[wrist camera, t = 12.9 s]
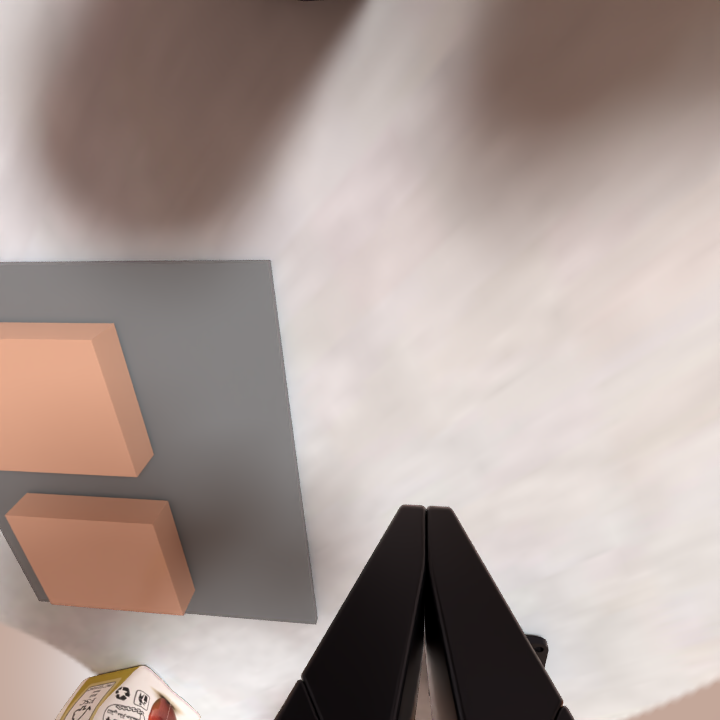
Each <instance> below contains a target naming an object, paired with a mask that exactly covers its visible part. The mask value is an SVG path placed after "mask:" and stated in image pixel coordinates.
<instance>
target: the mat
mask: <svg viewBox="0 0 720 720" xmlns="http://www.w3.org/2000/svg"><path fill="white" fill-rule="evenodd" d="M0 322H21V323H114V325H115V329H116V332H117V335H118V338H119V342H120V345H121V348H122V352H123V355H124V358H125V361H126V365H127V368H128V371H129V375H130V378H131V381H132V384H133V388H134V391H135V394H136V398H137V401H138V404H139V407H140V411H141V414H142V417H143V421H144V424H145V427H146V430H147V434H148V437H149V440H150V444H151V447H152V450H153V453H154V455H153V457H152V458H151V459H150V461H149V462H148V463H147V465H146V466H145V467H144V469H143V470H142V471H141V473H140V474H139V475H138V477H123V476H103V475H83V474H63V473H43V472H23V471H3V470H0V529H1V531H2V533H3V535H4V537H5V538H6V540H7V542H8V544H9V546H10V548H11V550H12V551H13V553H14V555H15V557H16V559H17V561H18V563H19V564H20V566H21V568H22V570H23V572H24V574H25V575H26V577H27V579H28V581H29V583H30V585H31V587H32V588H33V590H34V592H35V594H36V596H37V598H38V600H39V601H45V602H50V601H49V599H48V597H47V595H46V593H45V591H44V589H43V587H42V585H41V583H40V581H39V580H38V578H37V576H36V574H35V572H34V570H33V568H32V566H31V564H30V562H29V560H28V559H27V557H26V555H25V553H24V551H23V549H22V547H21V545H20V543H19V541H18V540H17V538H16V536H15V534H14V532H13V530H12V528H11V526H10V524H9V522H8V520H7V519H6V517H5V514H6V513H7V512H8V511H9V510H10V509H11V508H12V507H13V506H14V505H15V504H16V503H17V502H18V501H19V500H20V499H21V498H22V497H23V496H24V495H25V494H26V493H38V494H56V495H74V496H92V497H110V498H128V499H146V500H164V501H168V502H169V506H170V509H171V512H172V516H173V519H174V522H175V525H176V529H177V532H178V535H179V539H180V542H181V545H182V548H183V552H184V555H185V558H186V562H187V565H188V568H189V572H190V575H191V578H192V581H193V585H194V588H195V592H194V594H193V596H192V598H191V600H190V602H189V604H188V607H187V609H186V611H185V613H187V614H199V615H211V616H222V617H234V618H246V619H258V620H270V621H281V622H293V623H305V624H316V623H317V611H316V603H315V596H314V588H313V580H312V573H311V565H310V557H309V550H308V542H307V535H306V527H305V519H304V512H303V504H302V497H301V489H300V481H299V474H298V466H297V459H296V451H295V443H294V436H293V428H292V421H291V413H290V405H289V398H288V390H287V383H286V375H285V367H284V360H283V352H282V345H281V337H280V329H279V322H278V314H277V307H276V299H275V291H274V284H273V276H272V269H271V261H270V260H229V261H97V262H0Z"/></svg>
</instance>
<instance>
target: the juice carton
mask: <svg viewBox="0 0 720 720" xmlns="http://www.w3.org/2000/svg"><path fill="white" fill-rule="evenodd" d="M200 718H201V716H200V715H199V713H198V712H197V711H196V710H195V709H194V708H192V707H191V706H190V705H189V704H188V703H187V702H186V701H184V700H183V699H182V698H181V697H180V696H178V695H177V694H176V693H175V692H173V691H172V690H171V689H170V687H169V686H168V685H167V684H166V683H165V682H164V681H163V680H162V679H161V678H160V677H159V676H157V675H156V674H155V673H154V672H153V671H152V670H151V669H150V668H148V667H146V666H138V667H133V668H129V669H124V670H120V671H115V672H111V673H107V674H102V675H98V676H93V677H89V678H87V679H85V680H84V681H83V682H82V683H81V684H80V685H79V687H78V688H77V689H76V691H75V692H74V693H73V695H72V696H71V697H70V699H69V700H68V701H67V703H66V704H65V705H64V707H63V709H62V710H61V711H60V713H59V714H58V716H57V717H56V719H55V720H200Z"/></svg>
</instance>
